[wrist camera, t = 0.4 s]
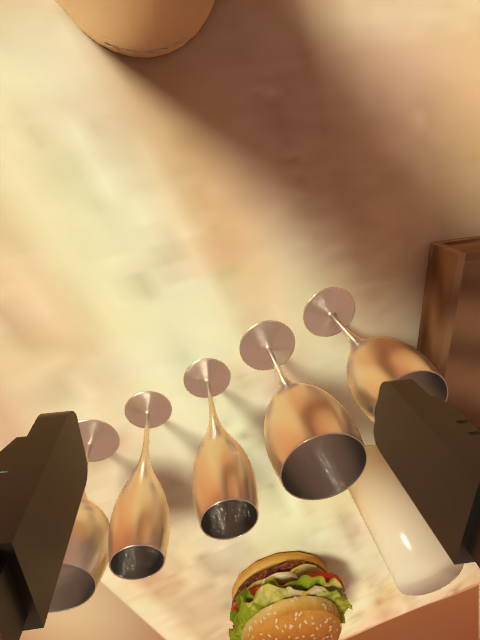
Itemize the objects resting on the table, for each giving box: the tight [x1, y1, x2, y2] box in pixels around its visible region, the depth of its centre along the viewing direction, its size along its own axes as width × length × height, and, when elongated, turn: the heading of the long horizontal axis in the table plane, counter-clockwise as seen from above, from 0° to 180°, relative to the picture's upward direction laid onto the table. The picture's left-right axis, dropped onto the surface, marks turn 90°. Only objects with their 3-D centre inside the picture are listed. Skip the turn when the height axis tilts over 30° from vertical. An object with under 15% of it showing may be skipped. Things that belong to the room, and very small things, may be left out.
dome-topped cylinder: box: [348, 445, 464, 596], centre depth 35 cm, size 6×6×11 cm
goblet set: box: [48, 287, 448, 612], centre depth 26 cm, size 28×6×13 cm, turn 117°
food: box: [229, 552, 352, 640], centre depth 43 cm, size 14×14×8 cm
